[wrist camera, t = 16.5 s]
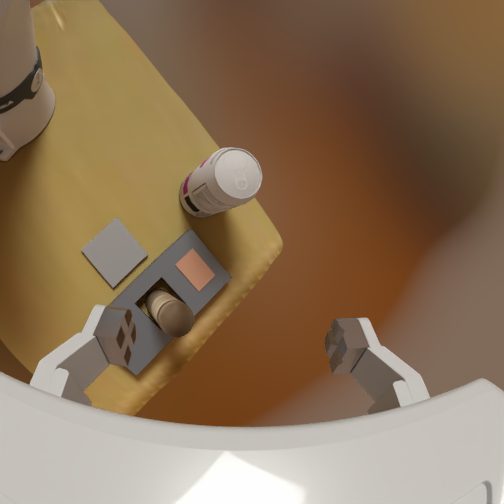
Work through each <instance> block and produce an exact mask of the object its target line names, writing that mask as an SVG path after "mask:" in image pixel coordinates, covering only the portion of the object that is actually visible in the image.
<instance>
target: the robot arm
mask: <svg viewBox="0 0 504 504" xmlns="http://www.w3.org/2000/svg"><path fill="white" fill-rule="evenodd" d="M54 107H55V96H54V92H53V90H52V89H51V87H50V86H49V85H48V83H47V81H46V80H45V77H44V74H43V71H42V62H41V57H40V52H39V49H38V47H37V46H36V43H35V35H34V25H33V15H32V13H31V9H30V3H29V0H0V153H1V151H3V152H2V153H1V154H0V160H2V161H7V160H9V159H10V158H11V157H12V156H13V155H14V153H15V152H16V151H17V150H18V149H19V148H20V147H22V146H23V145H25V144H27V143H28V142H30V141H31V140H33V139H34V138H35V137H36V136H37V135H38V134H39V133H40V132H41V131H42V130H43V129H44V128H45V126H46V125H47V123H48V122H49V120H50V118H51V116H52V114H53V111H54ZM131 318H132V313H131V310H129V309H124V308H118V307H111V306H104V305H98V304H97V305H95V306H94V308H93V310H92V312H91V314H90V316H89V318H88V320H87V322H86V324H85V326H84V328H83V331H82V333H77V334H76V335H74V336H73V337H72V338H70V339H69V340H67V341H66V342H65V343H63V344H62V345H60V346H59V347H58V348H56V349H55V350H54V351H52V352H51V353H49V354H48V355H47V356H45V357H44V358H43V359H41V360H40V361H39V364H38V366H37V368H36V370H35V373H34V375H33V377H32V380H31V382H30V385H28V384H26V383H24V382H21V381H19V380H17V379H15V378H12V377H10V376H8V375H6V374H4V373H2V372H0V504H504V392H503V391H502V390H501V389H499V388H498V387H497V386H495V385H494V384H493V383H491V382H489V381H488V380H486V379H482V378H481V379H478V380H475V381H473V382H471V383H469V384H466V385H464V386H461V387H459V388H456V389H454V390H451V391H449V392H446V393H443V394H440V395H438V396H435V397H432V398H430V396H429V394H428V391H427V389H426V387H425V384H424V382H423V380H422V377H421V375H420V374H418V373H417V372H416V371H415V370H413V369H412V368H411V367H410V366H408V365H407V364H406V363H404V362H403V361H402V360H401V359H399V358H398V357H397V356H396V355H394V354H393V353H392V352H391V351H389V350H388V349H387V348H385V347H384V346H381V345H380V344H379V341H378V339H377V336H376V334H375V332H374V330H373V328H372V325H371V323H370V321H369V319H367V318H356V319H355V318H350V319H334V320H333V321H332V323H331V328H332V329H331V330H330V331H329V332H327V335H326V338H325V350H326V353H327V354H328V355H329V356H330V357H331V359H330V361H329V364H330V368H331V372H332V375H334V374H348V373H350V375H351V376H352V377H353V378H354V379H355V380H356V381H357V382H358V383H359V384H360V386H361V387H362V388H363V389H364V390H365V391H366V392H367V393H368V394H369V395H370V396H371V397H372V399H373V400H374V401H375V403H374V404H373V405H372V406H371V407H370V408H369V409H368V411H367V412H368V415H364V416H359V417H354V418H348V419H342V420H336V421H329V422H321V423H312V424H303V425H291V426H273V427H219V426H202V425H191V424H180V423H171V422H164V421H158V420H151V419H145V418H139V417H134V416H129V415H124V414H120V413H115V412H111V411H107V410H103V409H99V408H95V407H91V401H90V399H89V398H88V397H87V396H86V394H85V393H84V392H83V391H84V390H85V389H86V388H87V387H88V386H89V385H90V384H91V383H92V382H93V381H94V380H95V379H96V378H97V377H98V376H99V375H100V374H101V373H102V372H103V371H104V370H105V369H106V368H107V367H108V366H109V364H113V365H120V366H126V367H128V364H129V361H130V357H131V351H130V348H131V347H132V346H134V343H135V340H136V327H135V323H134V322H133V321H131Z"/></svg>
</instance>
